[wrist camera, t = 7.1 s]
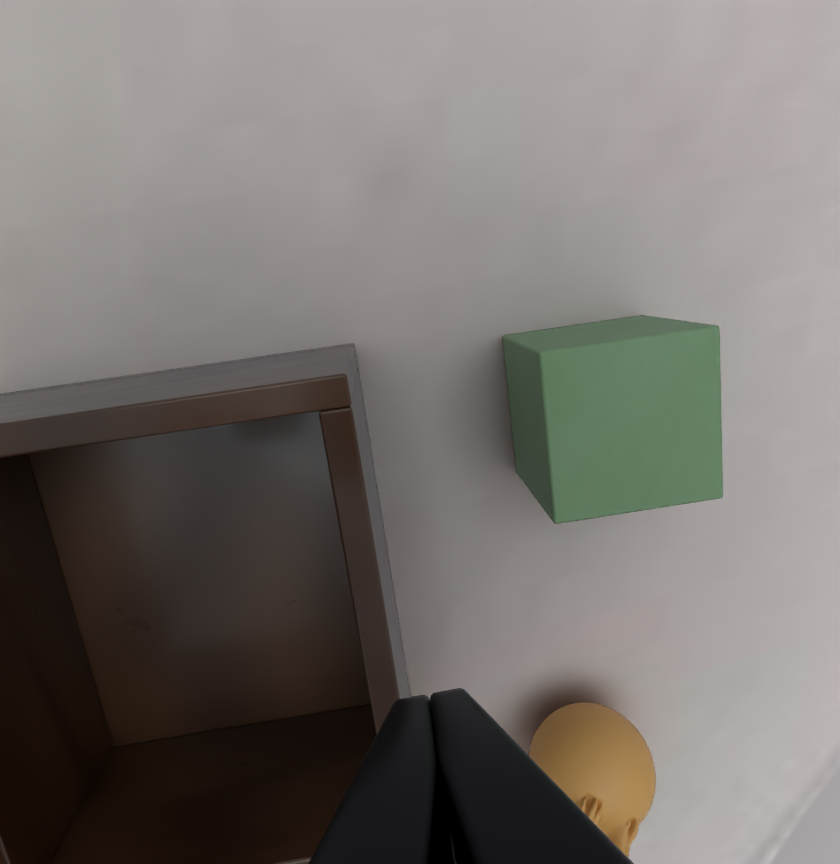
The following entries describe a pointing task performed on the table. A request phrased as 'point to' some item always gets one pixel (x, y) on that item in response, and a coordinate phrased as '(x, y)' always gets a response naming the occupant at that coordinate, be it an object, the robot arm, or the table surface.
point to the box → (190, 612)
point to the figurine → (598, 766)
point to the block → (616, 415)
